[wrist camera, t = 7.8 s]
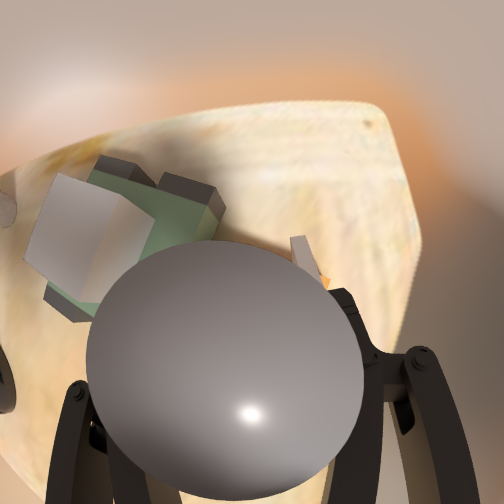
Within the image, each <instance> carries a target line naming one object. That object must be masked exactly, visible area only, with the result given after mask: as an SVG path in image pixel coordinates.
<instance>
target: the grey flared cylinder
mask: <svg viewBox="0 0 504 504" xmlns="http://www.w3.org/2000/svg"><path fill="white" fill-rule="evenodd" d="M86 373H87V380H88V386H89V390H90V394H91V397H92V401H93V404H94V407H95V409H96V411H97V414H98V416H99V418H100V420H101V422H102V424H103V425H104V427H105V429H106V431H107V432H108V434H109V435H110V437H111V438H112V439H113V441H114V442H115V443H116V445H117V446H118V447H119V448H120V449H121V451H122V452H123V453H124V454H125V455H126V456H127V457H128V458H129V459H130V460H131V461H132V462H134V463H135V464H136V465H137V466H138V467H139V468H140V469H142V470H143V471H145V472H146V473H147V474H149V475H150V476H152V477H153V478H155V479H157V480H158V481H160V482H162V483H164V484H166V485H168V486H170V487H172V488H175V489H177V490H179V491H182V492H184V493H188V494H191V495H195V496H198V497H203V498H208V499H214V500H225V501H242V500H253V499H259V498H265V497H269V496H272V495H276V494H279V493H282V492H285V491H287V490H289V489H292V488H294V487H296V486H298V485H300V484H302V483H303V482H305V481H307V480H308V479H310V478H312V477H313V476H314V475H316V474H317V473H318V472H319V471H321V470H322V469H323V468H324V467H326V466H327V465H328V464H329V463H330V461H331V460H332V459H333V458H334V457H335V456H336V455H337V454H338V453H339V451H340V450H341V448H342V447H343V446H344V444H345V443H346V441H347V440H348V438H349V436H350V434H351V432H352V430H353V428H354V426H355V424H356V421H357V418H358V415H359V411H360V408H361V403H362V397H363V390H364V370H363V363H362V356H361V351H360V348H359V345H358V342H357V338H356V335H355V333H354V331H353V329H352V327H351V324H350V322H349V320H348V318H347V316H346V315H345V313H344V312H343V310H342V309H341V307H340V306H339V304H338V303H337V301H336V300H335V299H334V298H333V297H332V295H331V294H330V293H329V292H328V291H327V290H326V289H325V288H324V287H323V285H322V284H321V283H319V282H318V281H317V280H316V279H315V278H313V277H312V276H311V275H310V274H309V273H307V272H306V271H305V270H303V269H302V268H300V267H299V266H297V265H296V264H294V263H292V262H291V261H289V260H288V259H285V258H283V257H281V256H279V255H277V254H275V253H272V252H270V251H268V250H265V249H262V248H258V247H255V246H252V245H249V244H243V243H237V242H231V241H215V240H206V241H196V242H188V243H184V244H179V245H175V246H171V247H168V248H166V249H163V250H161V251H158V252H156V253H153V254H152V255H150V256H148V257H146V258H144V259H143V260H141V261H139V262H138V263H136V264H135V265H134V266H133V267H131V268H130V269H129V270H127V271H126V272H125V273H124V274H123V275H122V276H121V277H120V278H119V279H118V280H117V281H116V282H115V283H114V284H113V285H112V287H111V288H110V290H109V291H108V292H107V294H106V295H105V296H104V298H103V300H102V302H101V303H100V305H99V307H98V309H97V311H96V313H95V316H94V319H93V321H92V324H91V327H90V332H89V336H88V341H87V350H86Z"/></svg>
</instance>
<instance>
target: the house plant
mask: <svg viewBox="0 0 504 504" xmlns="http://www.w3.org/2000/svg"><path fill="white" fill-rule="evenodd" d="M16 213H17V204H16V202H15V201H14V200H12V199H11V198H10V197H9V196H7V195H6V194H5V193H3V192H2V191H1V190H0V226H1V227H9V226H10V225H11V224H12V223H13V221H14V219H15V216H16Z"/></svg>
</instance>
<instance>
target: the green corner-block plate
mask: <svg viewBox="0 0 504 504" xmlns="http://www.w3.org/2000/svg"><path fill="white" fill-rule="evenodd" d="M155 186H156V184H155V183H154V182H153V181H152V180H151V179H150V178H149V177H148V176H147V175H146V174H145V173H144V172H143V171H142V169H141V168H140V167H139V166H138V165H137V164H134V163H131V162H127V161H123V160H119V159H115V158H112V157H108V156H104V155H101V156H100V157H99V159H98V161H97V163H96V165H95V167H94V169H93V171H92V172H91V174H90V176H89V178H88V180H87V182H83V181H81V180H78V179H75V178H72V177H69V176H66V175H63V174H61V173H57V175H56V177H55V179H54V181H53V183H52V186H51V188H50V190H49V192H48V194H47V197H46V199H45V201H44V204H43V206H42V208H41V211H40V213H39V216H38V218H37V221H36V224H35V226H34V229H33V232H32V235H31V238H30V240H29V243H28V246H27V250H26V253H25V256H24V259H23V260H24V261H25V262H27V263H28V264H29V265H30V266H31V267H33V268H34V269H35V270H36V271H38V272H39V273H40V274H41V275H43V276H44V277H45V278H47V279H48V283H47V287H46V290H45V294H44V298H43V299H44V300H45V301H46V302H47V303H49V304H50V305H51V306H52V307H54V308H55V309H56V310H57V311H59V312H60V313H61V314H62V315H64V316H65V317H66V318H68V319H69V320H70V321H72V322H73V323H75V322H92V321H93V319H94V316H95V313H96V311H97V309H98V307H99V305H100V303H101V302H102V300H103V298H104V296H105V295H106V294H107V292H108V291H109V290H110V288H111V287H112V285H113V284H114V283H115V282H116V281H117V280H118V279H119V278H120V277H121V276H122V275H123V274H124V273H125V272H126V271H127V270H129V269H130V268H131V267H133V266H134V265H135V264H136V263H138V262H139V261H141V260H143V259H144V258H146V257H148V256H150V255H152V254H153V253H156V252H158V251H161V250H163V249H166V248H168V247H171V246H175V245H179V244H184V243H188V242H196V241H206V240H212V239H213V237H214V234H215V232H216V230H217V227H218V225H219V223H220V220H221V218H222V216H223V213H224V211H225V209H226V206H225V204H224V203H223V201H222V199H221V197H220V195H219V193H218V191H217V189H216V187H213V186H210V185H206V184H203V183H200V182H197V181H193V180H190V179H187V178H184V177H180V176H177V175H173V174H170V173H167V172H164V174H163V176H162V178H161V180H160V182H159V184H158V186H157V188H156V189H155ZM320 277H321V280H322V283H323V285H324V288H325V289H326V290H327V288H328V285H329V282H330V280H331V279H329V278H326V277H324V276H321V275H320Z"/></svg>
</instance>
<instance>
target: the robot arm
mask: <svg viewBox="0 0 504 504" xmlns="http://www.w3.org/2000/svg"><path fill="white" fill-rule="evenodd" d="M290 243H291V254H292V263H294V264H296V265H297V266H299V267H300V268H302V269H303V270H305V271H306V272H307V273H309V274H310V275H311V276H312V277H313V278H315V279H316V280H317V281H318V282H319V283H321V284H322V285H323V283H322V280H321V277H320V274H319V271H318V269H317V266H316V263H315V260H314V258H313V255H312V252H311V249H310V247H309V244H308V241H307V239H306V236H305V235H303V236H296V237H290ZM323 287H324V285H323ZM328 292H329V293H330V294H331V295H332V297H333V298H334V299H335V300H336V301H337V303H338V304H339V306H340V307H341V309H342V310H343V312H344V313H345V315H346V316H347V318H348V320H349V322H350V324H351V327H352V329H353V331H354V333H355V335H356V338H357V342H358V345H359V348H360V351H361V356H362V363H363V370H364V390H363V397H362V403H361V408H360V411H359V415H358V418H357V421H356V424H355V426H354V428H353V430H352V432H351V434H350V436H349V438H348V440H347V441H346V443H345V444H344V446H343V447H342V448H341V450H340V451H339V453H338V454H337V455H336V456H335V457H334V458H333V459H332V460H331V461H330V463H329V466H328V472H327V477H326V482H325V487H324V492H323V497H322V502H321V504H375V503H376V496H377V489H378V482H379V473H380V464H381V451H382V437H383V435H382V434H383V407H384V406H383V404H384V402H388V403H389V407H390V411H391V415H392V418H393V422H394V427H395V430H396V435H397V439H398V444H399V449H400V453H401V458H402V463H403V468H404V473H405V479H406V485H407V492H408V498H409V504H480V499H479V493H478V488H477V482H476V477H475V472H474V468H473V463H472V459H471V455H470V451H469V447H468V444H467V440H466V437H465V433H464V430H463V427H462V423H461V420H460V418H459V414H458V411H457V408H456V405H455V403H454V400H453V397H452V394H451V392H450V389H449V386H448V384H447V381H446V379H445V376H444V374H443V371H442V369H441V366H440V364H439V362H438V359H437V357H436V355H435V354H434V352H433V351H432V350H430V349H429V348H428V347H424V346H414V347H412V348H410V349H409V350H408V351H407V353H406V354H391V353H385V352H382V351H380V350H378V349H377V348H376V347H375V346H374V345H373V344H372V342H371V340H370V338H369V335H368V333H367V330H366V328H365V325H364V323H363V320H362V318H361V316H360V314H359V311H358V308H357V306H356V304H355V301H354V299H353V297H352V295H351V294H350V293H349V292H348V291H347V290H346V289H345V288H339V289H333V290H328ZM15 405H16V391H15V385H14V381H13V377H12V373H11V370H10V367H9V365H8V362H7V360H6V358H5V355H4V354H3V352H2V350H1V348H0V414H6V413H10V412H12V411H13V410H14V408H15ZM91 421H92V425H91ZM113 497H114V502H115V504H182V501H181V497H180V494H179V490H177V489H175V488H172V487H170V486H168V485H166V484H164V483H162V482H160V481H158V480H157V479H155V478H153V477H152V476H150V475H149V474H147V473H146V472H145V471H143V470H142V469H140V468H139V467H138V466H137V465H136V464H135V463H134V462H132V461H131V460H130V459H129V458H128V457H127V456H126V455H125V454H124V453H123V452H122V451H121V449H120V448H119V447H118V446H117V445H116V443H115V442H114V441H113V439H112V438H111V437H110V435H109V434H108V432H107V431H106V429H105V427H104V425H103V424H102V422H101V420H100V418H99V416H98V414H97V411H96V409H95V407H94V404H93V401H92V397H91V394H90V390H89V386H88V383H87V382H86V381H83V380H78V381H75V382H74V383H72V384H71V385H70V386H69V388H68V390H67V393H66V396H65V400H64V403H63V407H62V411H61V415H60V419H59V423H58V427H57V431H56V436H55V440H54V445H53V451H52V456H51V462H50V468H49V475H48V482H47V491H46V501H45V504H113Z"/></svg>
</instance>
